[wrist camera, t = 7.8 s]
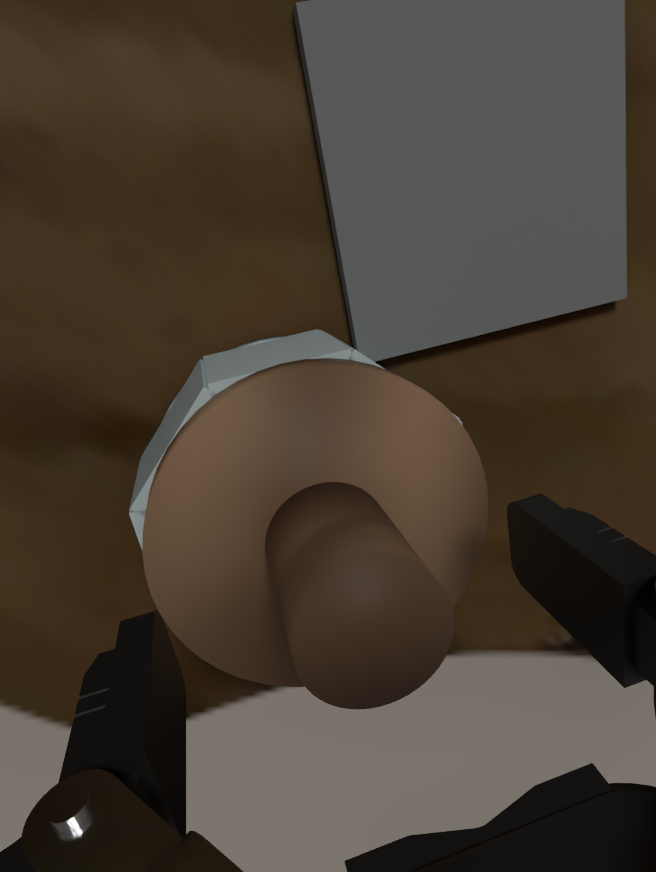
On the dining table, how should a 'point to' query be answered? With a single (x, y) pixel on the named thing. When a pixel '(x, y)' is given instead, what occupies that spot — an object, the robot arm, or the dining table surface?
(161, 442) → the bowl
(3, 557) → the dining table surface
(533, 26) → the mat
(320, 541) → the lid
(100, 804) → the robot arm
